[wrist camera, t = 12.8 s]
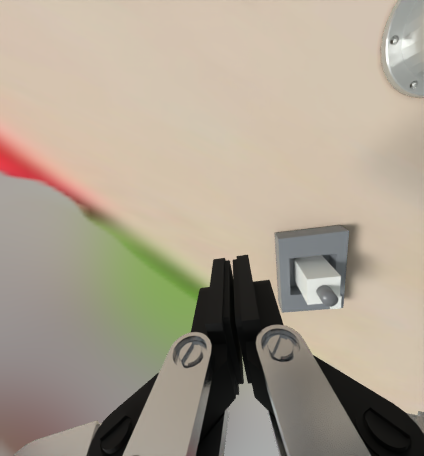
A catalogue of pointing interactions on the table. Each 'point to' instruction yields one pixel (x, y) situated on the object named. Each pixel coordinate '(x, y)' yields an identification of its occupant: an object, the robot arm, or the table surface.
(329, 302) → the plug
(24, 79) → the table surface
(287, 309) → the socket plate
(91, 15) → the table surface
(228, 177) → the table surface
